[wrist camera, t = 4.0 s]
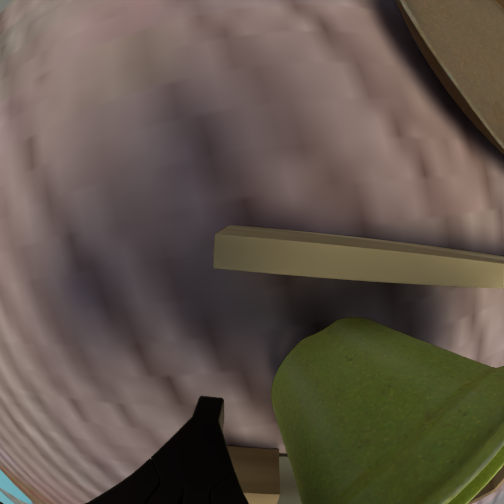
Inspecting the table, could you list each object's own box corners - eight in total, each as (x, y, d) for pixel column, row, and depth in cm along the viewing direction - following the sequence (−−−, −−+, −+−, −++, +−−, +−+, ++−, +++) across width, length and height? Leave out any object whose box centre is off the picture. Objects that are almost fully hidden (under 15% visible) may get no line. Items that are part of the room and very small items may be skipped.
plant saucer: (518, 8, 7) (535, -3, 4) (568, 197, 10) (594, 200, 7) (341, -66, 8) (349, -92, 5) (400, 171, 11) (436, 165, 8)
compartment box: (483, 472, 15) (503, 504, 9) (217, 513, 16) (208, 568, 10) (576, 267, 11) (622, 283, 5) (230, 222, 12) (194, 243, 6)
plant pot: (356, 441, 14) (436, 532, 5) (203, 442, 11) (254, 609, 2) (431, 302, 13) (563, 365, 5) (280, 247, 10) (535, 380, 2)
